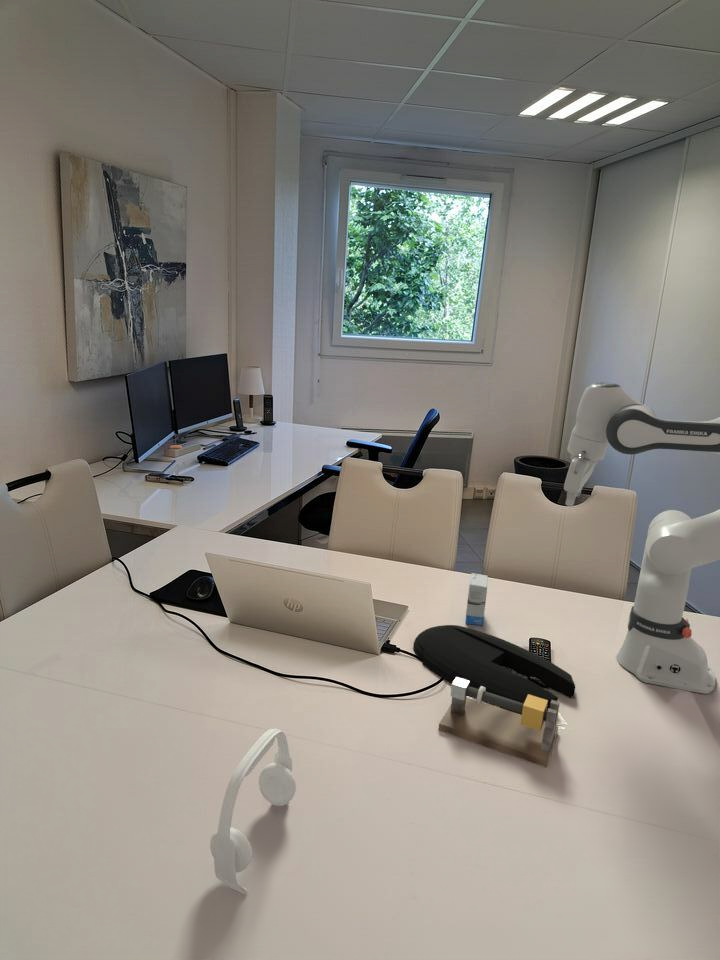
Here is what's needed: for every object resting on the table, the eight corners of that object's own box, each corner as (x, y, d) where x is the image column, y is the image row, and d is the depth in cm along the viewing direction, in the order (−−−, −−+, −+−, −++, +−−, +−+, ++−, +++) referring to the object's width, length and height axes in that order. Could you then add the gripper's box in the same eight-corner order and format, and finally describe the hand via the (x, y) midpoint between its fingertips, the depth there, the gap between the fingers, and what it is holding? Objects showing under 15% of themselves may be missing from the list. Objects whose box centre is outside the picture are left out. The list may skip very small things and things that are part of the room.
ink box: (482, 626, 179) (487, 587, 176) (464, 623, 180) (469, 584, 177) (483, 612, 188) (488, 574, 184) (466, 610, 188) (470, 572, 185)
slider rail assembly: (557, 732, 137) (564, 692, 134) (546, 767, 126) (553, 724, 124) (456, 699, 146) (461, 661, 143) (438, 729, 135) (442, 689, 133)
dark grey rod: (556, 722, 132) (558, 706, 131) (552, 732, 129) (555, 716, 128) (468, 693, 139) (470, 679, 138) (463, 702, 136) (465, 687, 135)
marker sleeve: (544, 719, 133) (547, 700, 132) (540, 731, 129) (543, 711, 128) (525, 712, 135) (528, 694, 134) (520, 724, 131) (523, 705, 130)
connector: (466, 709, 140) (470, 681, 138) (462, 717, 137) (465, 688, 136) (453, 705, 141) (456, 676, 139) (448, 712, 139) (451, 683, 137)
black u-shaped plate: (449, 622, 182) (450, 605, 180) (588, 686, 155) (591, 667, 154) (390, 653, 164) (392, 635, 162) (536, 731, 138) (540, 711, 136)
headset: (266, 792, 116) (268, 705, 111) (302, 805, 114) (306, 716, 109) (202, 883, 98) (201, 783, 93) (244, 899, 95) (245, 798, 90)
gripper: (593, 459, 149) (578, 515, 154) (605, 443, 167) (591, 494, 171) (566, 452, 152) (551, 507, 156) (580, 437, 169) (567, 487, 174)
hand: (572, 500), depth 164 cm, fingers open, 8 cm apart
